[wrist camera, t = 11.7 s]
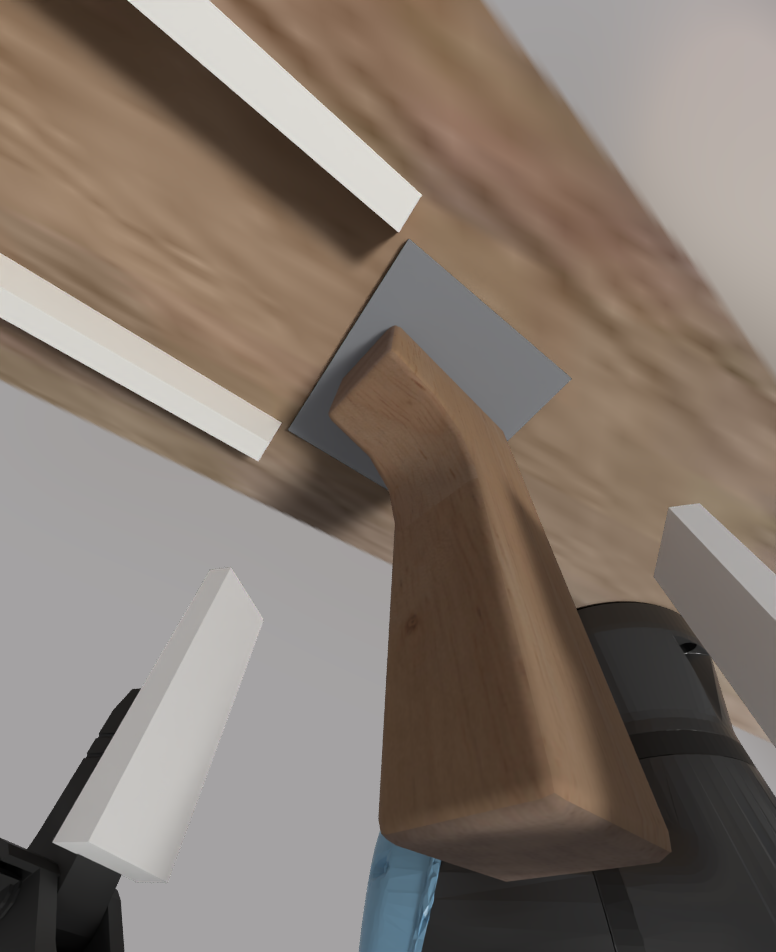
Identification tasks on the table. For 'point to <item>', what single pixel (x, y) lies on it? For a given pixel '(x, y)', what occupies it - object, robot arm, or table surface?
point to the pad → (435, 354)
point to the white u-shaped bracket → (301, 120)
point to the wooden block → (486, 650)
